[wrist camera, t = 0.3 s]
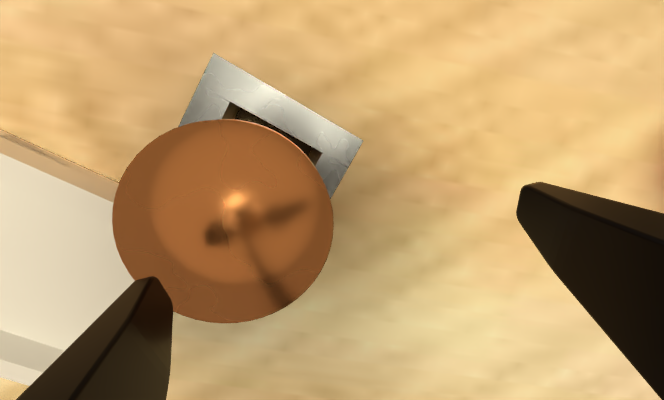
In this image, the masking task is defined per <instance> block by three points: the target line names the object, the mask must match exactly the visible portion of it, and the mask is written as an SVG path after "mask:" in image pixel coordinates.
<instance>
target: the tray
mask: <svg viewBox="0 0 664 400" xmlns="http://www.w3.org/2000/svg"><path fill="white" fill-rule="evenodd" d="M118 185H119V183H117V182H115V181H113V180H110V179H108V178H106V177H104V176H102V175H99V174H97V173H95V172H93V171H91V170H88V169H86V168H84V167H82V166H80V165H77V164H75V163H73V162H71V161H69V160H66V159H64V158H62V157H60V156H58V155H56V154H53V153H51V152H49V151H47V150H45V149H42V148H40V147H38V146H36V145H34V144H31V143H29V142H27V141H25V140H23V139H20V138H18V137H16V136H14V135H12V134H9V133H7V132H5V131H3V130H1V129H0V377H1V378H4V379H8V380H11V381H15V382H18V383H21V384H25V385H28V386H30V385H31V384H32V383H33V382H34V381H35V380H36V379H37V378H38V377H39V376H40V375H41V374H42V373H43V372H44V371H45V370H46V369H47V368H48V367H49V366H50V365H51V364H52V363H53V362H54V361H55V360H56V359H57V358H58V357H59V356H60V355H61V354H62V353H63V352H64V351H65V350H66V349H67V348H68V347H69V346H70V345H71V344H72V343H73V342H74V341H75V340H76V339H77V338H78V337H79V336H80V335H81V334H82V333H83V332H84V331H85V330H86V329H87V328H88V327H89V326H90V325H91V324H92V323H93V322H94V321H95V320H96V319H97V318H98V317H99V316H100V315H101V314H102V313H103V312H104V311H105V310H106V309H107V308H108V307H109V306H110V305H111V304H112V303H113V302H114V301H115V300H116V299H117V298H118V297H119V296H120V295H121V294H122V293H123V292H124V291H125V290H126V289H127V288H128V287H129V286H130V285H131V284H132V283H133V282H134V281H135V280H134V279H133V278H132V277H131V275H130V274H129V272H128V271H127V269H126V267H125V265H124V264H123V262H122V260H121V257H120V255H119V253H118V250H117V247H116V243H115V239H114V235H113V226H112V212H113V203H114V198H115V193H116V191H117V188H118Z"/></svg>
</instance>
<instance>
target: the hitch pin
mask: <svg viewBox="0 0 664 400" xmlns="http://www.w3.org/2000/svg"><path fill="white" fill-rule="evenodd" d="M333 224H334V223H333V210H332V206H331V201H330V197H329V194H328V192H327V189H326V186H325V184H324V182H323V180H322V178H321V176H320V174H319V173H318V171H317V169H316V168H315V166H314V165H313V164H312V162H311V161H310V159H309V158H308V157H307V156H306V155H305V153H304V152H303V151H302V150H301V149H300V148H299V147H298V146H297V145H295V144H294V143H293V142H292V141H291V140H289V139H288V138H286V137H285V136H283V135H282V134H280V133H278V132H276V131H274V130H272V129H270V128H268V127H266V126H263V125H259V124H256V123H253V122H248V121H243V120H234V119H219V120H206V121H199V122H195V123H190V124H186V125H183V126H181V127H178V128H175V129H172V130H171V131H169V132H167V133H165V134H163V135H161V136H159V137H158V138H156V139H155V140H154V141H152V142H151V143H149V144H148V145H147V146H146V147H145V148H144V149H143V150H142V151H141V152H139V153H138V154H137V155H136V157H135V158H134V159H133V161H132V162H131V163H130V164H129V166H128V167H127V169H126V171H125V173H124V174H123V176H122V178H121V180H120V182H119V185H118V188H117V191H116V193H115V198H114V203H113V212H112V226H113V235H114V239H115V243H116V247H117V250H118V253H119V255H120V257H121V260H122V262H123V264H124V265H125V267H126V269H127V271H128V272H129V274H130V275H131V277H132V278H133V279H134V280H135V281H136V280H138V279H142V278H146V277H150V276H155V277H157V278H158V279H159V281H160V282H161V284H162V285H163V287H164V289H165V290H166V292H167V293H168V295H169V297H170V298H171V301H172V304H173V311H174V312H176V313H179V314H181V315H183V316H186V317H190V318H193V319H196V320H201V321H206V322H214V323H238V322H245V321H251V320H255V319H258V318H262V317H265V316H267V315H270V314H273V313H275V312H277V311H279V310H281V309H282V308H284V307H286V306H287V305H289V304H290V303H292V302H293V301H295V300H296V299H297V298H298V297H299V296H301V295H302V294H303V293H304V292H305V291H306V290H307V289H308V288H309V287H310V285H311V284H312V283H313V282H314V281H315V279H316V278H317V276H318V275H319V273H320V272H321V270H322V268H323V266H324V264H325V262H326V260H327V257H328V254H329V251H330V247H331V242H332V237H333Z"/></svg>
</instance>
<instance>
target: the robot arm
mask: <svg viewBox="0 0 664 400" xmlns="http://www.w3.org/2000/svg"><path fill="white" fill-rule="evenodd" d="M516 214H517V218H518V221H519V223H520V224H521V225H522V227H523V228H524V230H525V231H526V233H527V234H528V236H529V237H530V239H531V240H532V241H533V243H534V244H535V246H536V247H537V249H538V250H539V252H540V253H541V255H542V256H543V258H544V259H545V260H546V262H547V263H548V265H549V266H550V267H551V269H552V270H553V271H554V273H555V274H556V275H557V276H558V278H559V279H560V280H561V281H562V282H563V283H564V285H565V286H566V287H567V288H568V289H569V291H570V292H571V293H572V294H573V295H574V296H575V298H576V299H577V300H578V301H579V302H580V304H581V305H582V306H583V307H584V308H585V309H586V311H587V312H588V313H589V314H590V315H591V317H592V318H593V319H594V320H595V321H596V322H597V324H598V325H599V326H600V327H601V328H602V330H603V331H604V332H605V333H606V334H607V335H608V337H609V338H610V339H611V340H612V341H613V343H614V344H615V345H616V346H617V347H618V348H619V350H620V351H621V352H622V353H623V354H624V356H625V357H626V358H627V359H628V360H629V361H630V363H631V364H632V365H633V366H634V367H635V369H636V370H637V371H638V372H639V373H640V374H641V376H642V377H643V378H644V379H645V380H646V382H647V383H648V384H649V385H650V386H651V387H652V389H653V390H654V391H655V392H656V393H657V395H658V396H659V397H660V398H661V399H662V400H664V214H663V213H659V212H656V211H652V210H648V209H644V208H640V207H636V206H632V205H628V204H624V203H621V202H617V201H613V200H609V199H605V198H601V197H597V196H593V195H590V194H586V193H582V192H578V191H574V190H570V189H566V188H562V187H559V186H555V185H551V184H547V183H543V182H536V183H532V184H528V185H525V186H523V187H522V189H521V191H520V196H519V201H518V206H517V211H516ZM172 321H173V304H172V301H171V298H170V297H169V295H168V293H167V292H166V290H165V289H164V287H163V285H162V284H161V282H160V281H159V279H158V278H157V277H155V276H150V277H146V278H142V279H138V280H136V281H134V282H133V283H132V284H131V285H130V286H129V287H128V288H127V289H126V290H125V291H124V292H123V293H122V294H121V295H120V296H119V297H118V298H117V299H116V300H115V301H114V302H113V303H112V304H111V305H110V306H109V307H108V308H107V309H106V310H105V311H104V312H103V313H102V314H101V315H100V316H99V317H98V318H97V319H96V320H95V321H94V322H93V323H92V324H91V325H90V326H89V327H88V328H87V329H86V330H85V331H84V332H83V333H82V334H81V335H80V336H79V337H78V338H77V339H76V340H75V341H74V342H73V343H72V344H71V345H70V346H69V347H68V348H67V349H66V350H65V351H64V352H63V353H62V354H61V355H60V356H59V357H58V358H57V359H56V360H55V361H54V362H53V363H52V364H51V365H50V366H49V367H48V368H47V369H46V370H45V371H44V372H43V373H42V374H41V375H40V376H39V377H38V378H37V379H36V380H35V381H34V382H33V383H32V384H31V385H30V386H29V387H28V388H27V389H26V390H25V391H24V392H23V393H22V394H21V395H20V396H19V397H18V398H17V399H16V400H166V396H167V390H168V384H169V376H170V365H171V345H172Z"/></svg>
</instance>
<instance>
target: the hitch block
mask: <svg viewBox="0 0 664 400" xmlns="http://www.w3.org/2000/svg"><path fill="white" fill-rule="evenodd" d="M240 107H241V108H243V109H245V110H247V111H248V112H250V113H252V114H254V115H256V116H257V117H259V118H261V119H263V120H265V121H266V122H268V123H270V124H272V125H274V126H275V127H277V128H279V129H281V130H283V131H284V132H286V133H288V134H290V135H292V136H293V137H295V138H297V139H299V140H301V141H302V142H304V143H306V144H308V145H310V146H311V147H312V149H311V151H310V153H309V155H308V158H309V159H310V161H311V162H312V164H313V165H314V166H315V168H316V169H317V171H318V173H319V174H320V176H321V178H322V180H323V182H324V184H325V186H326V189H327V192H328V194H329V197H330V199H331V197H332V195H333V194H334V192H335V190H336V188H337V187H338V185H339V183H340V181H341V179H342V178H343V176H344V174H345V172H346V171H347V169H348V167H349V165H350V164H351V162H352V160H353V158H354V157H355V155H356V153H357V151H358V150H359V148H360V146H361V144H362V142H363V140H361V139H360V138H358V137H356V136H355V135H353V134H351V133H349V132H348V131H346V130H344V129H343V128H341V127H339V126H338V125H336V124H334V123H332V122H331V121H329V120H327V119H326V118H324V117H322V116H320V115H319V114H317V113H315V112H314V111H312V110H310V109H308V108H307V107H305V106H303V105H302V104H300V103H298V102H297V101H295V100H293V99H291V98H290V97H288V96H286V95H285V94H283V93H281V92H279V91H278V90H276V89H274V88H273V87H271V86H269V85H267V84H266V83H264V82H262V81H261V80H259V79H257V78H256V77H254V76H252V75H250V74H249V73H247V72H245V71H244V70H242V69H240V68H238V67H237V66H235V65H233V64H232V63H230V62H228V61H226V60H225V59H223V58H221V57H220V56H218V55H216V54H215V53H213V55H212V57H211V59H210V61H209V63H208V66H207V68H206V70H205V72H204V74H203V76H202V78H201V80H200V82H199V85H198V87H197V89H196V91H195V93H194V95H193V97H192V99H191V101H190V103H189V106H188V108H187V110H186V112H185V114H184V116H183V118H182V120H181V122H180V125H179V127H181V126H183V125H186V124H190V123H195V122H199V121H206V120H219V119H235V117H236V115H237V113H238V111H239V109H240Z"/></svg>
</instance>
